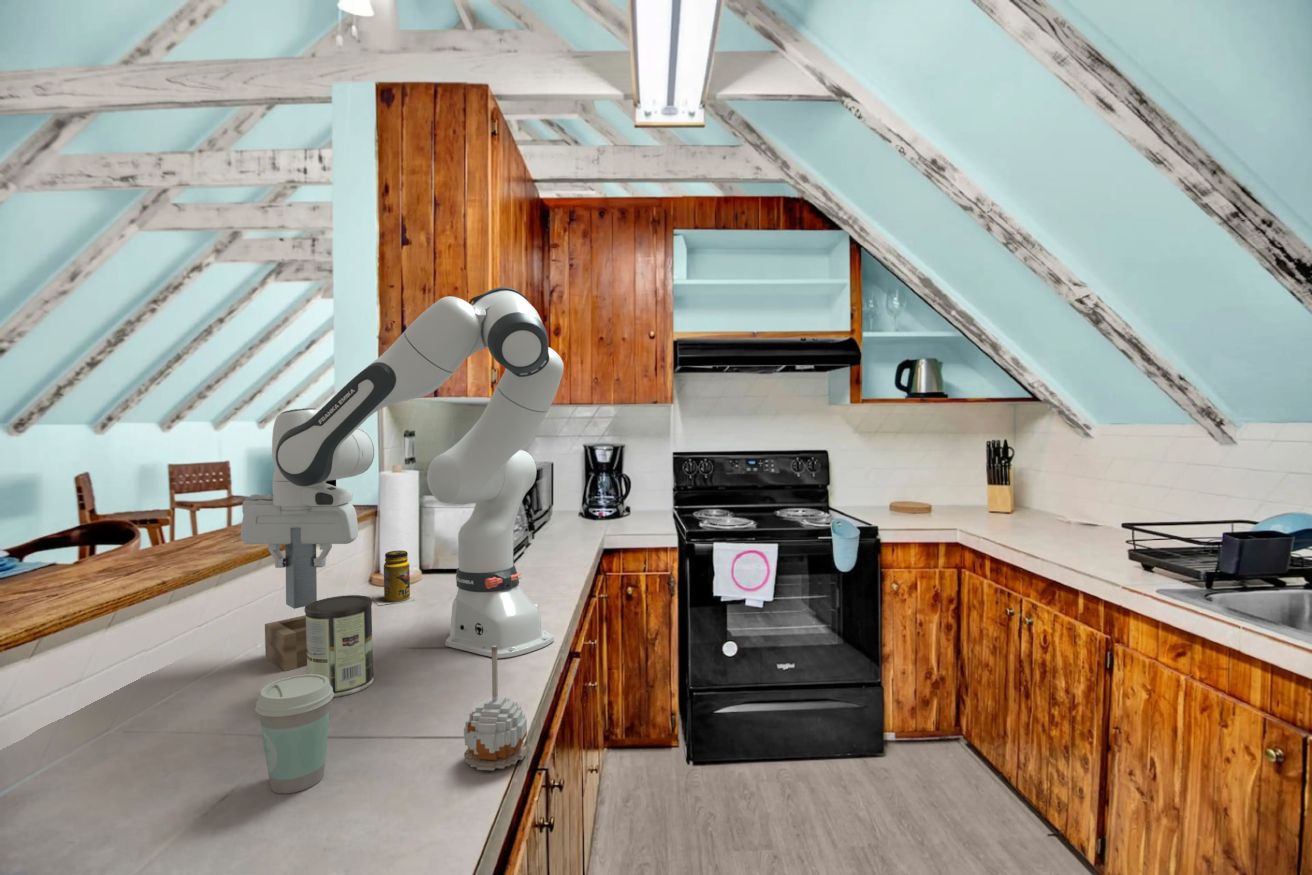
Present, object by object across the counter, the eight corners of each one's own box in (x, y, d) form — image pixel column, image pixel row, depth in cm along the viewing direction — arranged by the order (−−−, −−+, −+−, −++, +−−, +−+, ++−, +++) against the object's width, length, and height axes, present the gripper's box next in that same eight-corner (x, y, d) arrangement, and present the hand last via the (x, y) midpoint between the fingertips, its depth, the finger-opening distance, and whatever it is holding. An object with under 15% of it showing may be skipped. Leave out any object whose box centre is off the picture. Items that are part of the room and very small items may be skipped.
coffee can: (340, 670, 117) (339, 592, 116) (387, 677, 113) (385, 597, 113) (291, 693, 107) (289, 608, 106) (340, 701, 103) (338, 614, 103)
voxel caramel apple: (478, 742, 90) (476, 635, 90) (533, 744, 89) (531, 637, 89) (455, 772, 82) (453, 656, 82) (515, 775, 82) (513, 658, 81)
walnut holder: (342, 655, 124) (341, 621, 124) (284, 671, 116) (284, 635, 116) (320, 643, 130) (320, 611, 130) (265, 657, 123) (264, 623, 123)
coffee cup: (278, 764, 85) (276, 673, 84) (346, 760, 85) (344, 670, 85) (242, 802, 76) (239, 702, 76) (318, 798, 77) (315, 698, 77)
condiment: (414, 600, 162) (413, 552, 161) (378, 606, 157) (377, 557, 157) (407, 594, 168) (406, 548, 167) (372, 599, 163) (371, 552, 163)
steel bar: (316, 603, 123) (315, 525, 123) (294, 608, 120) (293, 528, 120) (308, 599, 126) (307, 523, 125) (286, 604, 123) (285, 525, 122)
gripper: (232, 496, 118) (234, 571, 119) (347, 496, 120) (348, 570, 120) (252, 492, 125) (253, 563, 125) (361, 492, 126) (361, 562, 127)
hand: (300, 566), depth 123 cm, fingers closed on steel bar, 6 cm apart
